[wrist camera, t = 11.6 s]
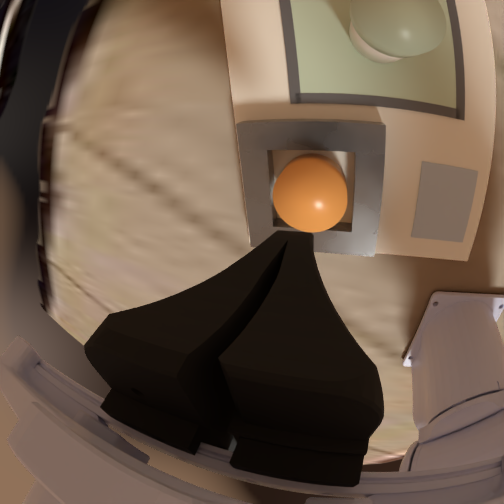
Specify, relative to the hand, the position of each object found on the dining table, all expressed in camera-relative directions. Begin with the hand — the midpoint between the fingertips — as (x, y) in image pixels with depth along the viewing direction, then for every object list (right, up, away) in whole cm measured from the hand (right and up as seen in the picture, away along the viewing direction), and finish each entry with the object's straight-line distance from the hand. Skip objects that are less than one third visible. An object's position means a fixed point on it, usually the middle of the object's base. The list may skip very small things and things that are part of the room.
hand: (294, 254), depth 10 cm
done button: (+2, +4, +6) cm, 7 cm away
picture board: (+5, +8, +3) cm, 10 cm away
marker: (+5, +11, 0) cm, 12 cm away
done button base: (+2, +4, +6) cm, 8 cm away
